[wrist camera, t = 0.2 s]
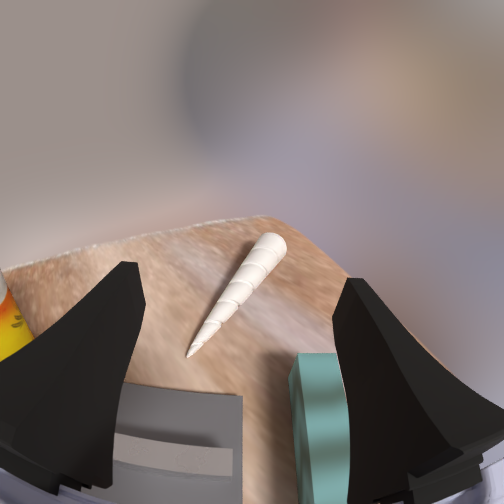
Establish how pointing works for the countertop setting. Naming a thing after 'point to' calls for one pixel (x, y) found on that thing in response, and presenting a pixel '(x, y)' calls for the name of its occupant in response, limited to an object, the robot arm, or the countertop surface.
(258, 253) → the unicorn horn
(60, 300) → the countertop surface
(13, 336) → the beer can
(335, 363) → the teal wavy bar
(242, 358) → the countertop surface
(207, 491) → the ridge stand
